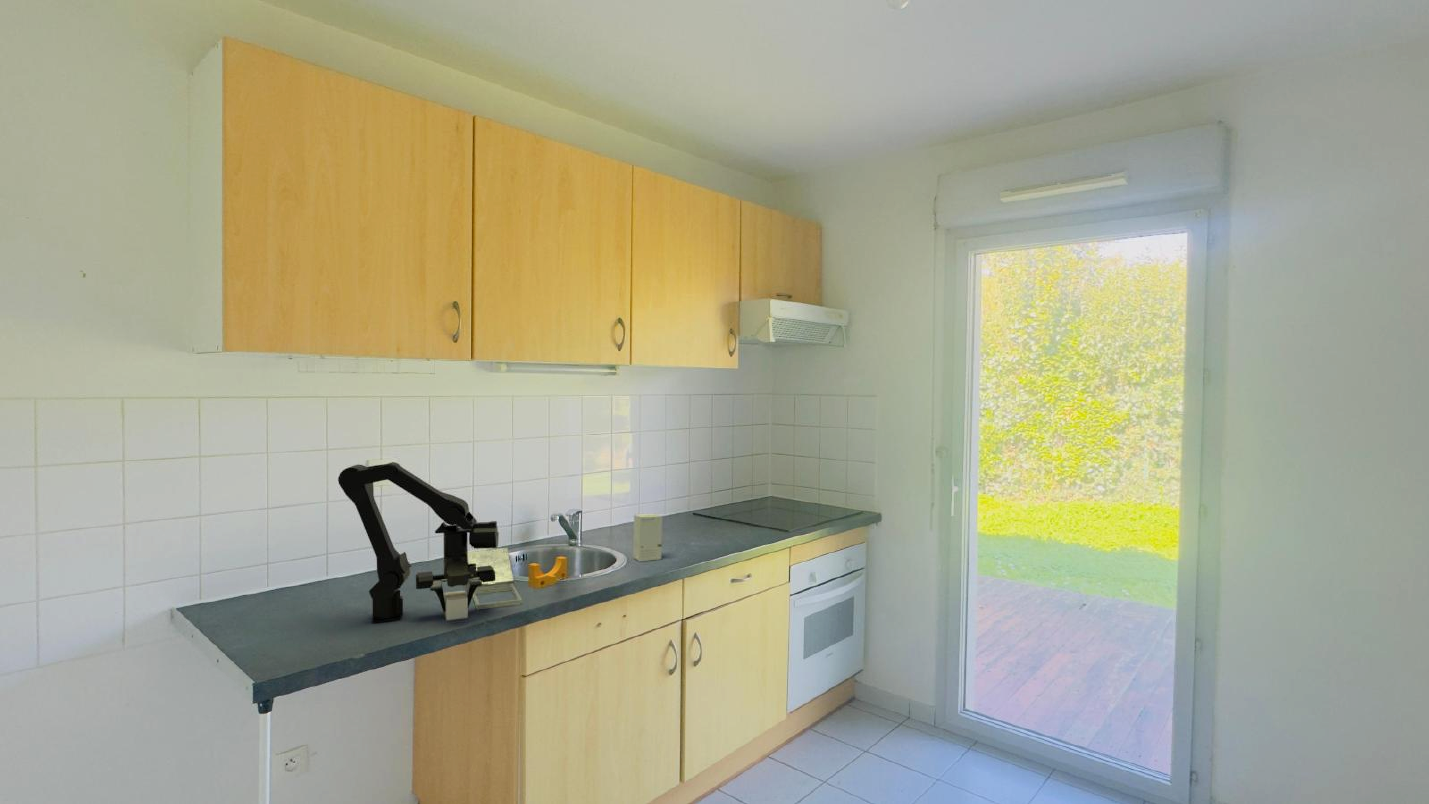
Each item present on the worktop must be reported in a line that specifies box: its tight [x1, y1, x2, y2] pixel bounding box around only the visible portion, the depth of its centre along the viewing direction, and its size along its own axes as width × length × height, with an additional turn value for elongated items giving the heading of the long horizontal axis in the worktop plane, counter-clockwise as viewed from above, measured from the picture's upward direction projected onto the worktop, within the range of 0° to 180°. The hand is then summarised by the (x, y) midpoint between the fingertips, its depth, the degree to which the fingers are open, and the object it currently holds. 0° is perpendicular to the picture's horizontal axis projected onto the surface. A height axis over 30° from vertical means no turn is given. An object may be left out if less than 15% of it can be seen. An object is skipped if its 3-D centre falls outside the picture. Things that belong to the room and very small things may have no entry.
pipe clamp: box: [528, 556, 568, 589], centre depth 208 cm, size 12×4×6 cm, turn 142°
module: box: [443, 590, 469, 621], centre depth 179 cm, size 5×7×5 cm
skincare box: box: [632, 513, 663, 563], centre depth 236 cm, size 8×6×15 cm
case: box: [468, 547, 523, 611], centre depth 198 cm, size 11×27×9 cm, turn 24°
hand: (455, 610), depth 179 cm, fingers closed on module, 5 cm apart
